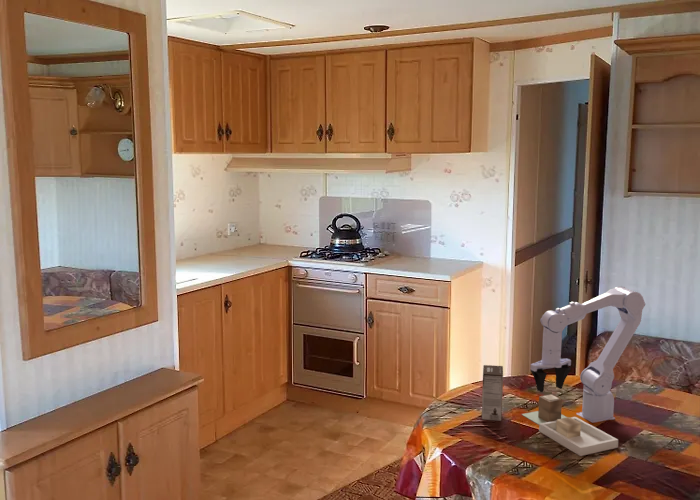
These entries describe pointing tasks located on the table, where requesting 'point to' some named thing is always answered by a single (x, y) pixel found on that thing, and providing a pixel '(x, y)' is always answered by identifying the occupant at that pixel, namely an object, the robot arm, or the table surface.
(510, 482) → the table surface
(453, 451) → the table surface
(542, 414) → the labelled box
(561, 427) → the plain box
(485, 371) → the coffee box
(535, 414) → the tile
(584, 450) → the bin
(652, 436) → the table surface
